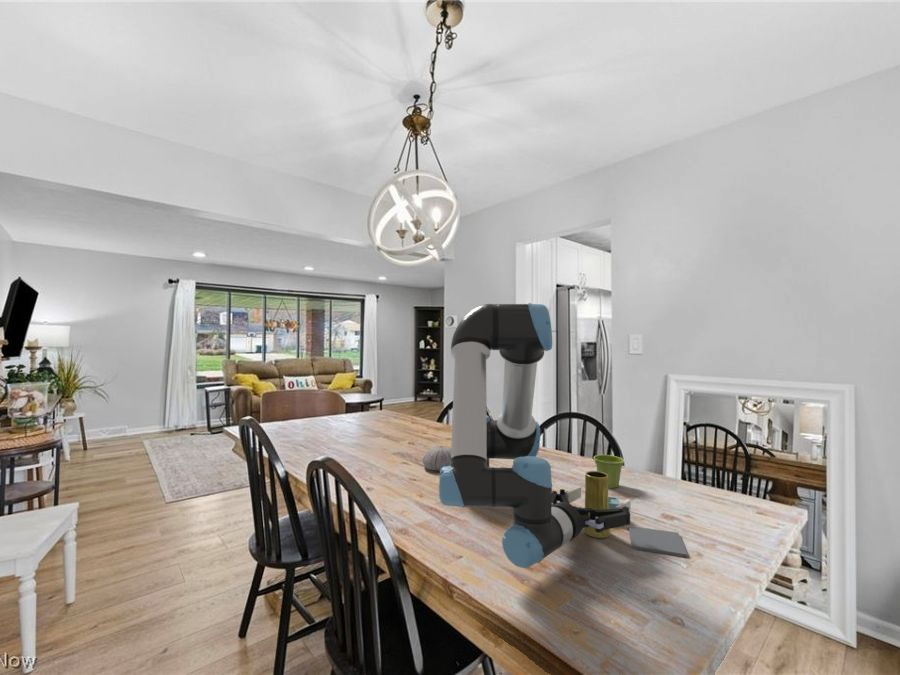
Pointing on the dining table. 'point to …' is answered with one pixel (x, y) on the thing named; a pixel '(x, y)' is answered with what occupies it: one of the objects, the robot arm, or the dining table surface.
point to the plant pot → (610, 468)
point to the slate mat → (657, 541)
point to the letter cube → (613, 502)
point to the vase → (596, 498)
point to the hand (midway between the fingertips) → (603, 498)
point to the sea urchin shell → (437, 458)
